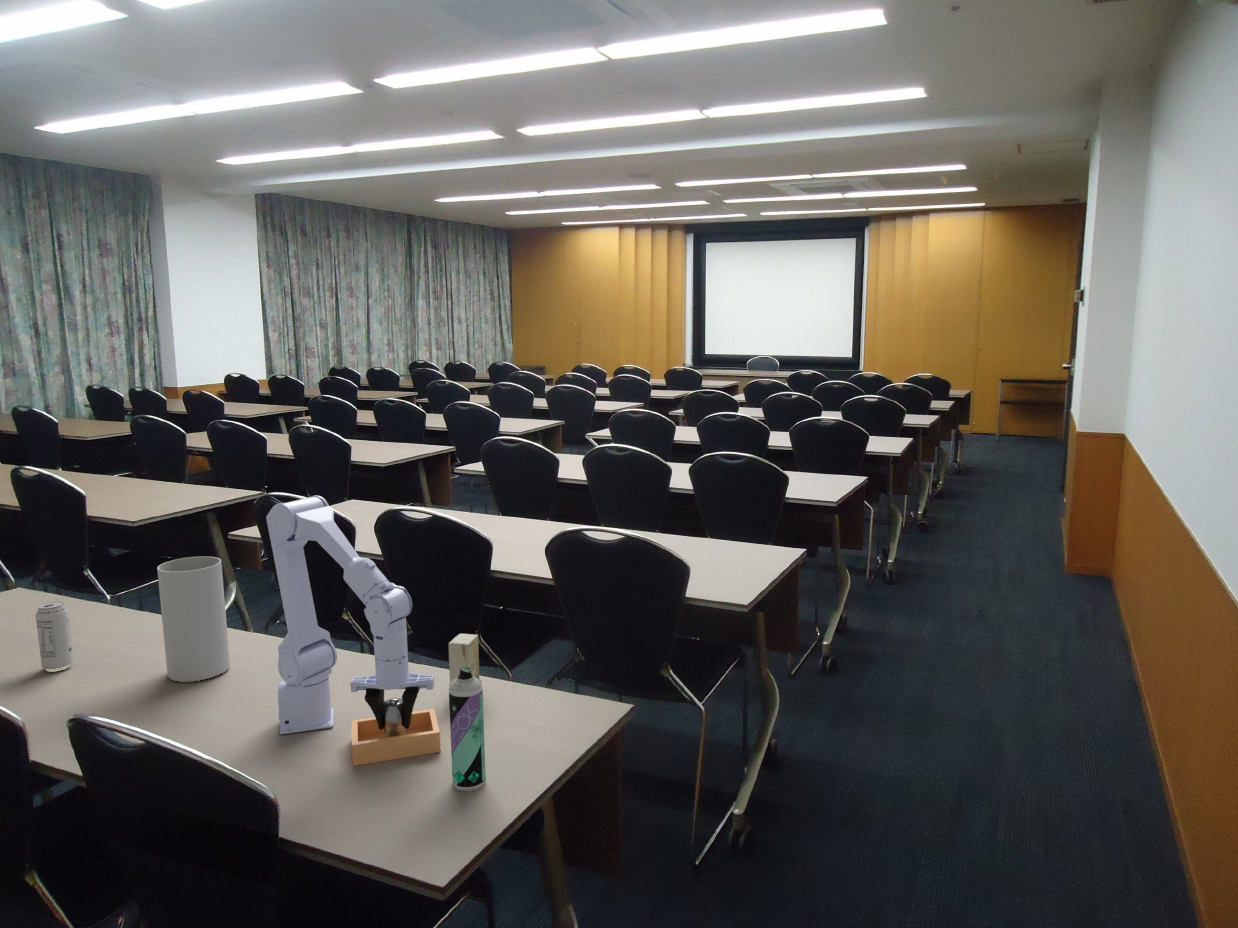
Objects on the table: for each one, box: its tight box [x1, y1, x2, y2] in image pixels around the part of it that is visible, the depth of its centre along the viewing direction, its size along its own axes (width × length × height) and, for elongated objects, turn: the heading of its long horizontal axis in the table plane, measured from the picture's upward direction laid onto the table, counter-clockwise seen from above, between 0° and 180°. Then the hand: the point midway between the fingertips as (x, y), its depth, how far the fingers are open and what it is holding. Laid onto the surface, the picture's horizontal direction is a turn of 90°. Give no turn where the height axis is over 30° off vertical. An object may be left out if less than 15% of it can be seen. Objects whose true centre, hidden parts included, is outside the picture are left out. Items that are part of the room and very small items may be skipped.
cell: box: [383, 697, 407, 738], centre depth 151 cm, size 4×4×7 cm
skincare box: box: [448, 633, 480, 683], centre depth 172 cm, size 6×4×12 cm
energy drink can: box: [35, 601, 75, 670], centre depth 188 cm, size 6×6×15 cm
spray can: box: [448, 667, 487, 792], centre depth 138 cm, size 6×6×20 cm
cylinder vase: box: [156, 556, 231, 683], centre depth 184 cm, size 12×12×25 cm
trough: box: [351, 708, 442, 767], centre depth 152 cm, size 15×10×4 cm, turn 108°
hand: (395, 726), depth 151 cm, fingers closed on cell, 4 cm apart
